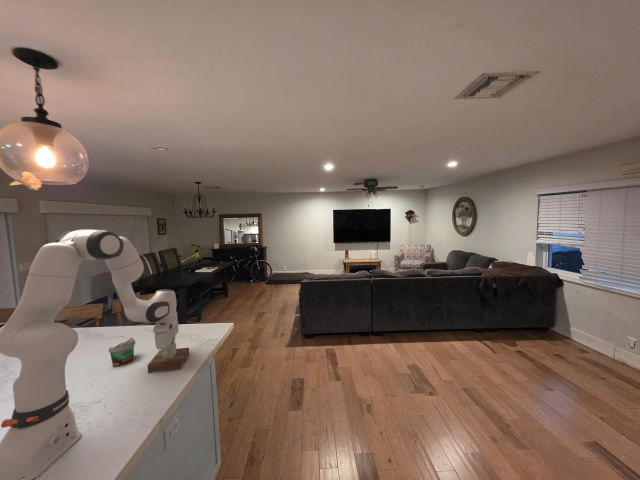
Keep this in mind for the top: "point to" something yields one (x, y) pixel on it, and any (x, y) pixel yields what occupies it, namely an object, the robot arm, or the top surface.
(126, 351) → the food container
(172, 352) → the sage block
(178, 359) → the walnut base
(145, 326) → the top surface
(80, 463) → the top surface
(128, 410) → the top surface
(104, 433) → the top surface
